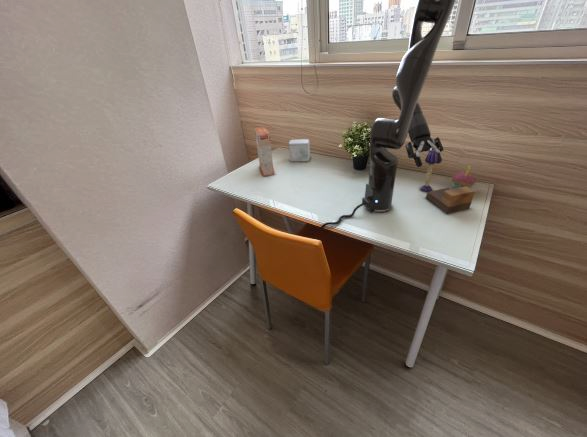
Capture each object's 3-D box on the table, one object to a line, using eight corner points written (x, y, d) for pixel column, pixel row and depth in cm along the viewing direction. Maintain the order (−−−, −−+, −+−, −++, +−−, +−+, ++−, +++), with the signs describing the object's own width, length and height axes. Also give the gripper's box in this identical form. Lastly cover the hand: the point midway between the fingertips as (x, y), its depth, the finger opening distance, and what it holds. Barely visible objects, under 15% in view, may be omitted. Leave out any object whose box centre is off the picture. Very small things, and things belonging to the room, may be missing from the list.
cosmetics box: (290, 161, 150) (288, 143, 144) (292, 157, 155) (290, 139, 149) (308, 161, 148) (307, 142, 142) (310, 157, 153) (309, 138, 147)
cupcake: (475, 194, 107) (485, 166, 100) (452, 194, 109) (460, 166, 102) (468, 184, 114) (477, 157, 107) (446, 184, 116) (453, 157, 109)
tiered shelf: (446, 213, 98) (451, 196, 94) (425, 198, 108) (429, 181, 104) (469, 208, 100) (475, 191, 96) (446, 194, 110) (451, 177, 105)
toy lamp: (425, 193, 111) (434, 154, 102) (416, 189, 114) (424, 151, 105) (433, 190, 113) (443, 151, 103) (424, 186, 116) (432, 148, 107)
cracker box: (274, 174, 137) (269, 133, 125) (263, 176, 136) (256, 135, 125) (270, 164, 149) (265, 125, 137) (259, 166, 148) (253, 127, 136)
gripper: (406, 125, 106) (419, 163, 103) (438, 120, 108) (452, 157, 105) (397, 135, 113) (408, 171, 110) (427, 130, 115) (439, 165, 112)
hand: (429, 164), depth 108 cm, fingers open, 8 cm apart
